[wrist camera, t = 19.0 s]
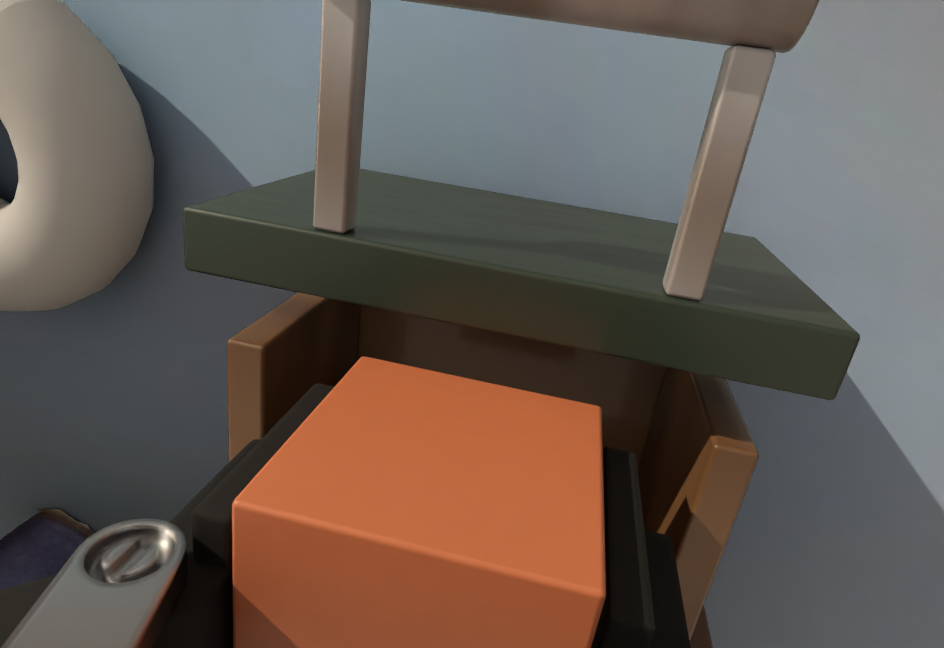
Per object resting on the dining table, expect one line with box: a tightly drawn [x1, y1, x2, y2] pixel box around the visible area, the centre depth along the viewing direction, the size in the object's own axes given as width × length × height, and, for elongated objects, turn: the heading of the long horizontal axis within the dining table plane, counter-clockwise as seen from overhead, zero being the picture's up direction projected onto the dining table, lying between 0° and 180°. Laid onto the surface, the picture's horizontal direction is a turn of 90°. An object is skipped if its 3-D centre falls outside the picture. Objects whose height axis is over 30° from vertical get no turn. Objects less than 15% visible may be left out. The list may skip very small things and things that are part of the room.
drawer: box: [183, 0, 860, 640], centre depth 15 cm, size 19×11×7 cm, turn 172°
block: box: [232, 357, 606, 648], centre depth 10 cm, size 4×4×4 cm
